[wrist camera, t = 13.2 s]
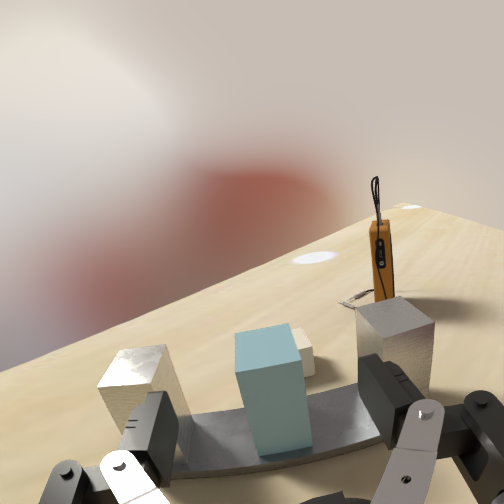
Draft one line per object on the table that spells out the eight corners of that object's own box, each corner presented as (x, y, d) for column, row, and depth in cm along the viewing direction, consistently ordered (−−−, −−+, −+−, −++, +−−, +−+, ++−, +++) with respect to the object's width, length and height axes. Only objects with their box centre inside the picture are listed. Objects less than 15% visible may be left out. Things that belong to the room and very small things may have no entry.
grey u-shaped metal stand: (139, 478, 21) (89, 394, 19) (154, 424, 29) (121, 345, 27) (431, 422, 22) (444, 326, 20) (396, 377, 30) (397, 291, 27)
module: (258, 456, 22) (235, 372, 20) (254, 410, 29) (235, 331, 27) (312, 445, 22) (301, 359, 20) (300, 401, 29) (287, 321, 27)
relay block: (272, 385, 34) (266, 357, 33) (266, 363, 39) (261, 336, 38) (315, 375, 34) (312, 346, 33) (305, 354, 39) (301, 327, 38)
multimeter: (341, 291, 57) (326, 180, 52) (395, 289, 52) (384, 173, 48) (322, 331, 44) (302, 187, 40) (392, 330, 39) (381, 177, 35)
